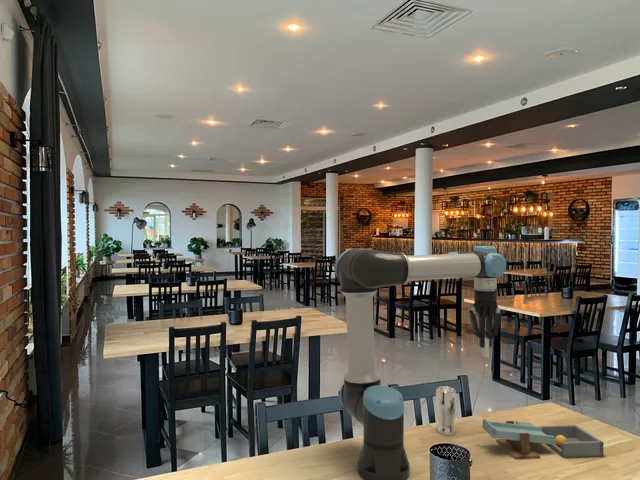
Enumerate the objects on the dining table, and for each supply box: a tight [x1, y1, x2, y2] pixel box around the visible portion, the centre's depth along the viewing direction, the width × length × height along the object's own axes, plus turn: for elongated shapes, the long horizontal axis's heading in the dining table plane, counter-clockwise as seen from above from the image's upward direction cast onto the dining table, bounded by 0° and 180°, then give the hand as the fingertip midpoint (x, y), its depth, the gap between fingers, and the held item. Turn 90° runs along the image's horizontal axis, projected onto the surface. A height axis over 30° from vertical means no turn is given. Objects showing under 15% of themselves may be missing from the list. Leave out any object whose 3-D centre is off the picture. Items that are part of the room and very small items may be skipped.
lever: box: [481, 418, 554, 445], centre depth 158 cm, size 20×15×3 cm
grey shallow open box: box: [538, 424, 604, 459], centre depth 156 cm, size 13×14×4 cm
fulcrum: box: [495, 420, 541, 460], centre depth 154 cm, size 8×13×7 cm, turn 4°
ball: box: [555, 435, 567, 446], centre depth 155 cm, size 4×4×4 cm
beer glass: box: [435, 385, 457, 436], centre depth 169 cm, size 7×7×15 cm
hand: (485, 356), depth 169 cm, fingers closed
